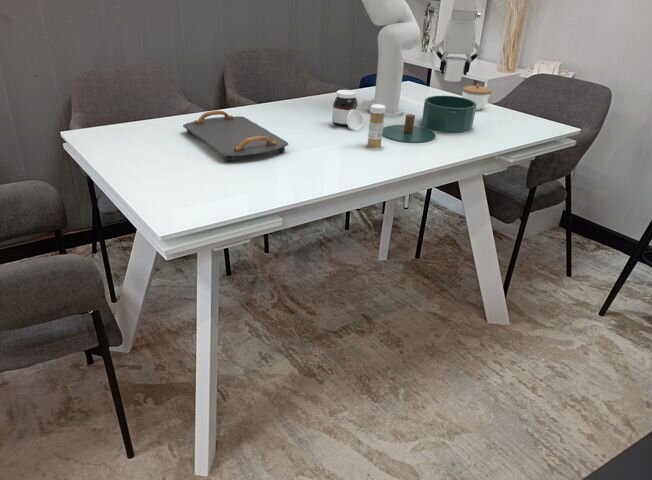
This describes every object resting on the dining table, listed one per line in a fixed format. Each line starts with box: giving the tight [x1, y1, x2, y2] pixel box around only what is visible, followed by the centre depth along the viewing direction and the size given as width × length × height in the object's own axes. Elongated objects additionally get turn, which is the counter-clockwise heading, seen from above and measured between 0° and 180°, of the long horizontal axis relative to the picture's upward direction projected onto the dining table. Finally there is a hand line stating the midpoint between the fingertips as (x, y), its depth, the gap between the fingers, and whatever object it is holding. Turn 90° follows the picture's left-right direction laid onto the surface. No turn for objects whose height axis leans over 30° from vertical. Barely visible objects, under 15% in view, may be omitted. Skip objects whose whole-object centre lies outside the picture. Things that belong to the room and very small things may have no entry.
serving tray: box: [182, 110, 289, 163], centre depth 176 cm, size 39×23×6 cm, turn 31°
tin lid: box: [382, 113, 436, 144], centre depth 186 cm, size 19×19×7 cm
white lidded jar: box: [461, 83, 492, 111], centre depth 219 cm, size 11×11×9 cm
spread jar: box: [331, 89, 364, 131], centre depth 193 cm, size 12×11×12 cm
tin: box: [420, 95, 477, 134], centre depth 196 cm, size 18×23×9 cm
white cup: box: [443, 56, 467, 83], centre depth 185 cm, size 7×7×7 cm
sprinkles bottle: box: [366, 104, 385, 149], centre depth 173 cm, size 5×5×13 cm
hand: (453, 73), depth 186 cm, fingers closed on white cup, 6 cm apart
